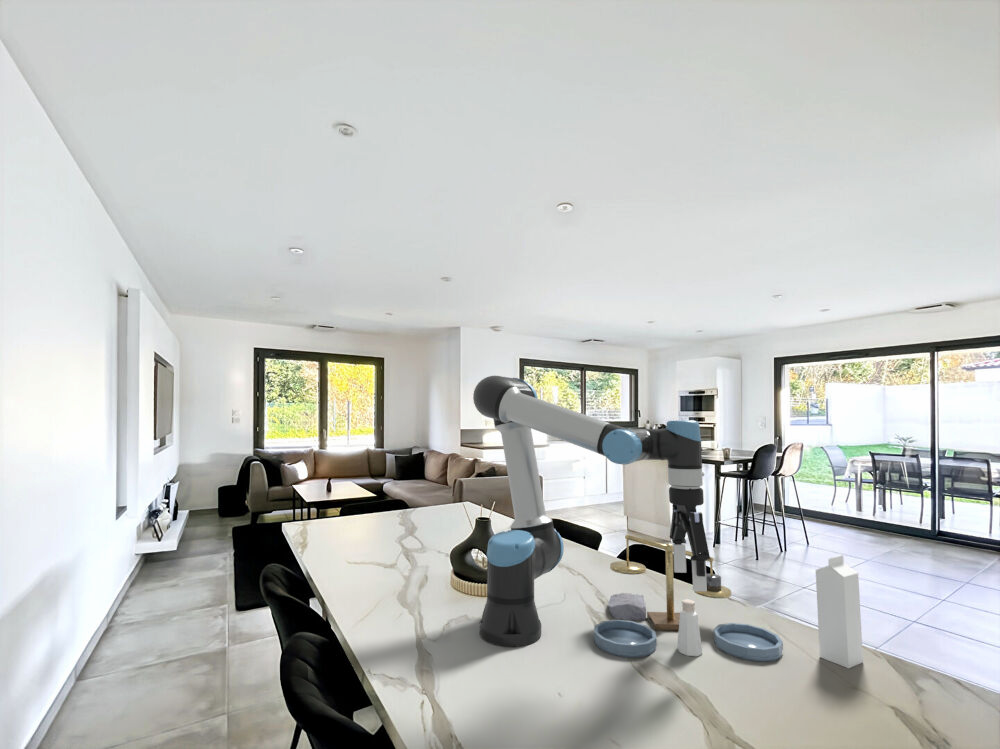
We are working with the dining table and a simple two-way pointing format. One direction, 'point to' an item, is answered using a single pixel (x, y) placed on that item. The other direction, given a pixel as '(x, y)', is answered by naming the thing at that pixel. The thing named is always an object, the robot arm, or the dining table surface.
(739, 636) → the dish low side
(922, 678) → the dining table surface
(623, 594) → the stone block
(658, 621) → the balance
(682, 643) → the salt shaker
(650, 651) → the dish high side
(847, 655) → the milk
